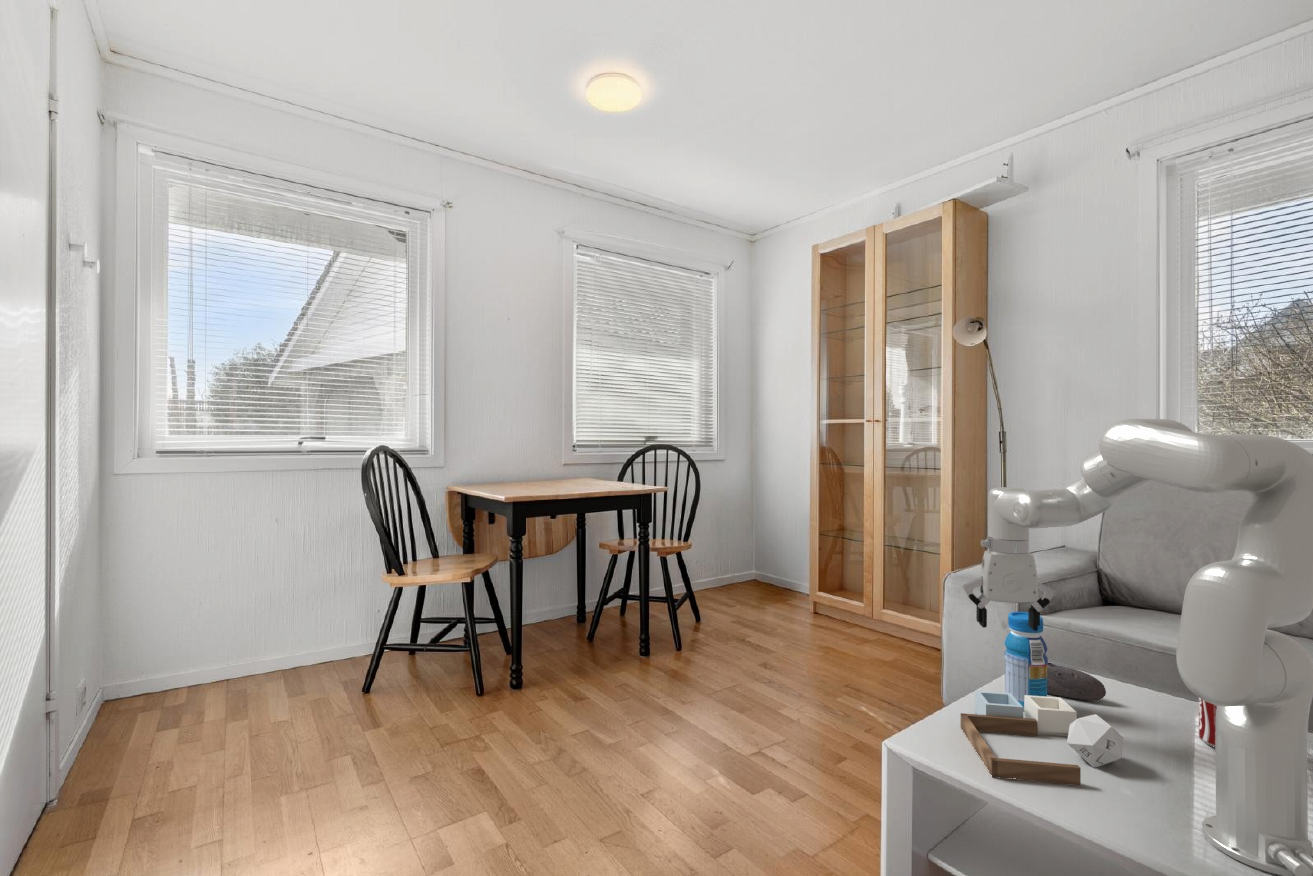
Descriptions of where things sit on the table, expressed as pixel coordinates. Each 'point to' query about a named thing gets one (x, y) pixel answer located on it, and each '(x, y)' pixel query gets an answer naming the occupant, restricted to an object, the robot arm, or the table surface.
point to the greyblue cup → (997, 704)
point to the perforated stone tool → (1073, 683)
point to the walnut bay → (1012, 766)
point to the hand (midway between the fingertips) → (1007, 627)
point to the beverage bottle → (1025, 659)
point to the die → (1095, 740)
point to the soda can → (1207, 722)
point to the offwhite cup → (1049, 714)
